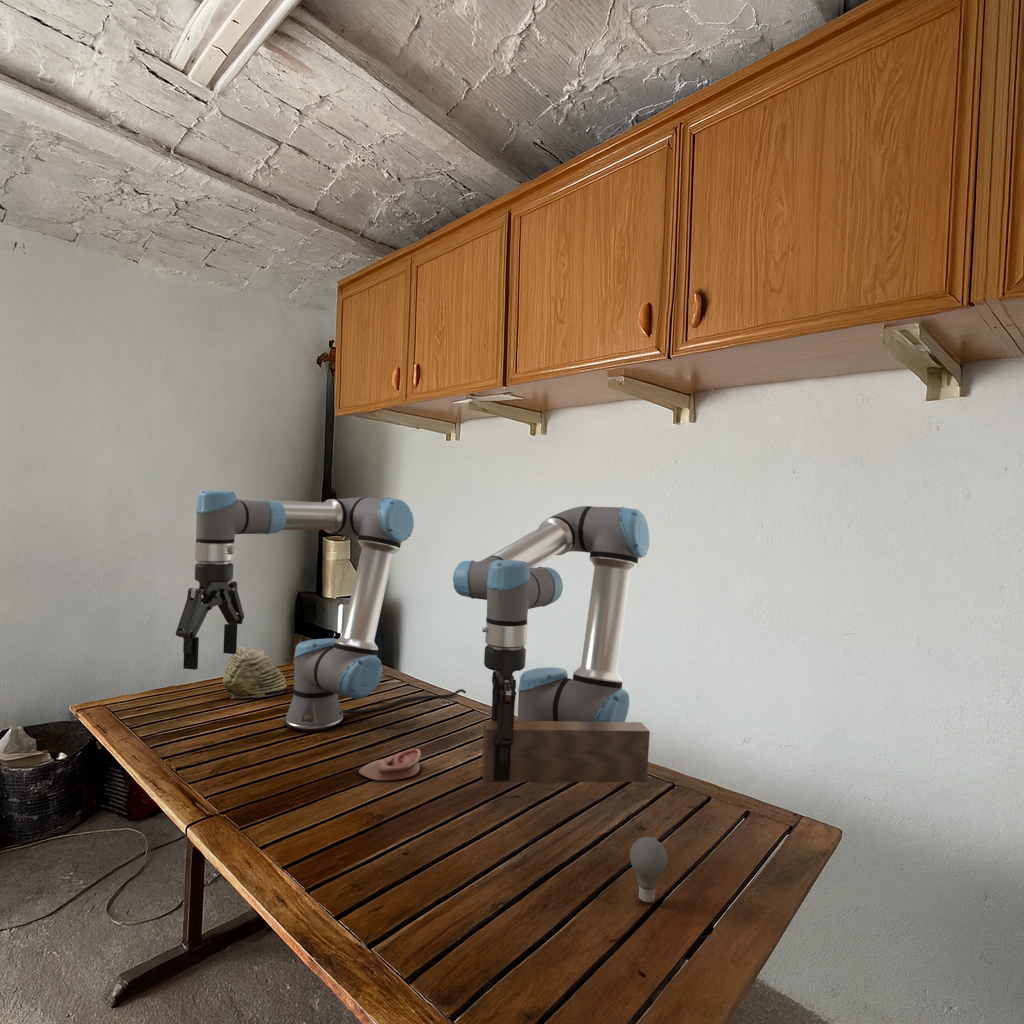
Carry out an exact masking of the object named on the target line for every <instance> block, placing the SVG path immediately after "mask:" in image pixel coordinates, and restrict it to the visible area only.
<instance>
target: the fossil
mask: <svg viewBox="0 0 1024 1024" xmlns="http://www.w3.org/2000/svg"><path fill="white" fill-rule="evenodd" d="M230 655H231V656H230V657H229V659H228V660H227V663H226V666H225V668H224V671H223V675H222V676H223V677H222V685H223V687H224V688H225V690H226V691H228V693H229V698H230V699H250V698H264V697H271V696H275V695H281V694H284V693H285V691H286V689H287V687H288V686H287V680H286V678H285V676H284V674H283V673H282V672H281V669H279V668H278V667H277V665H276V663H275V662H274V660H273V659H272V658H271V657H270V656H269V655H268V654H267V653H266V652H265V650H264V649H263V648H260V647H258V648H251V647H247V646H246V647H245V646H237V648H236V654H230Z"/></svg>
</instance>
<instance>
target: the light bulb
mask: <svg viewBox="0 0 1024 1024" xmlns="http://www.w3.org/2000/svg"><path fill="white" fill-rule="evenodd" d="M629 860H630V864H631V865H630V866H632V869H633V871H634V873H635V875H636V881H637V884H638V898H639V900H641V901H642V902H645V903H653V902H654V901H655V900H656V897H655V896H656V895H655V894H656V888H657V887H658V884H659V880H660V878H661V876H662V875H663V874H664V873H665V871H666V869H667V865H668V854H667V851H666V849H665V847H664V845H663V844H662V843H661V842H660V841H659V840H658V839H656V838H654V837H650V836H643V837H640V838H638V839H636V841H634V842H633V844H632V846H631V848H630V851H629Z"/></svg>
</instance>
